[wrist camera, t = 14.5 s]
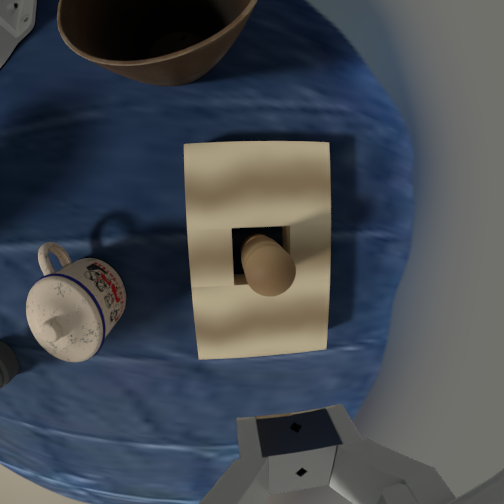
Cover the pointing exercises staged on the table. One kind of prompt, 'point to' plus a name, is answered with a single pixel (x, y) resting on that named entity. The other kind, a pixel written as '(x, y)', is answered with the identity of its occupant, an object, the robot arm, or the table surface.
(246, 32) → the table surface
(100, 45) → the plant pot
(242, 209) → the block
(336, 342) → the table surface
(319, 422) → the robot arm
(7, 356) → the candle holder
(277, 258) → the peg
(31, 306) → the teacup with lid
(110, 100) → the table surface
